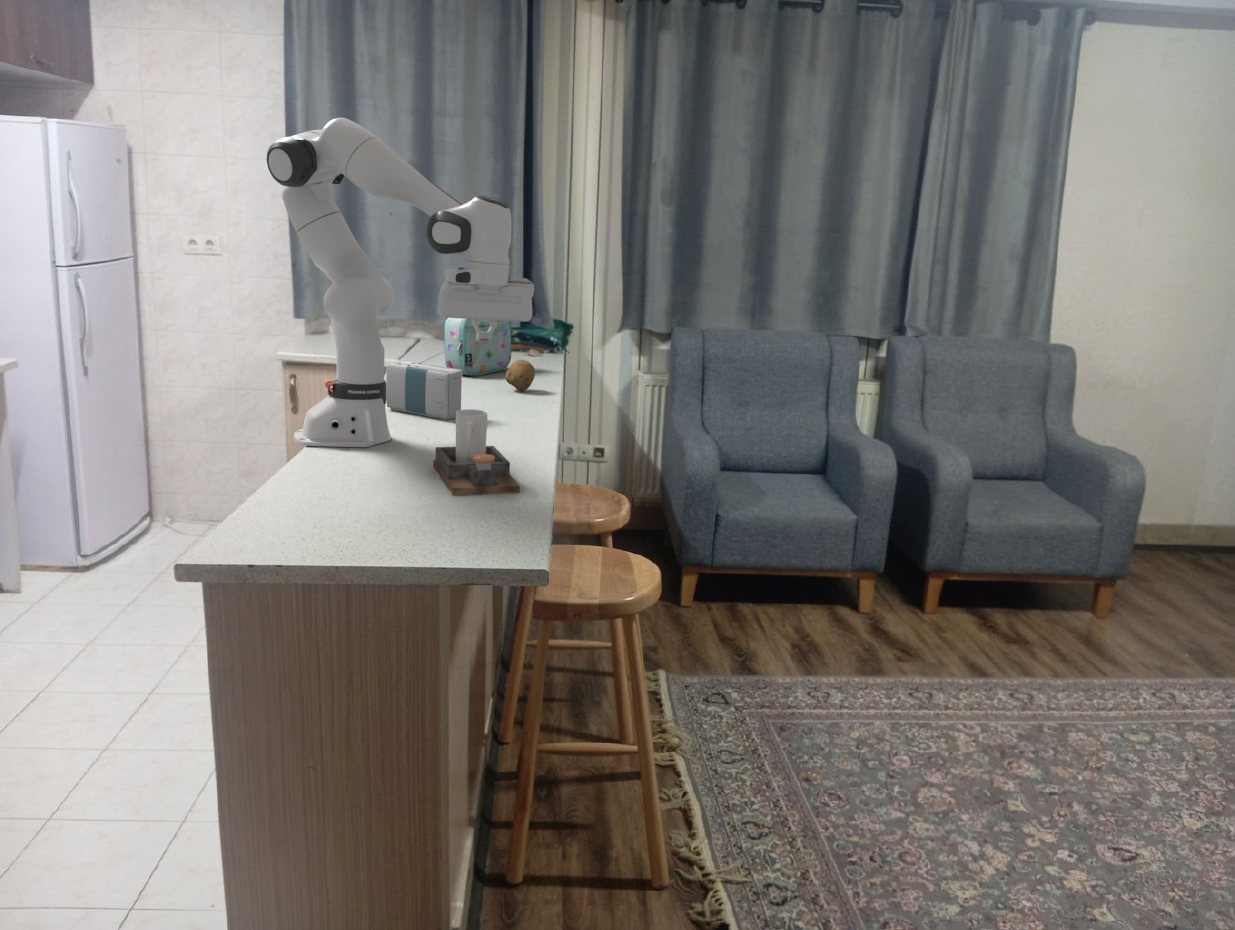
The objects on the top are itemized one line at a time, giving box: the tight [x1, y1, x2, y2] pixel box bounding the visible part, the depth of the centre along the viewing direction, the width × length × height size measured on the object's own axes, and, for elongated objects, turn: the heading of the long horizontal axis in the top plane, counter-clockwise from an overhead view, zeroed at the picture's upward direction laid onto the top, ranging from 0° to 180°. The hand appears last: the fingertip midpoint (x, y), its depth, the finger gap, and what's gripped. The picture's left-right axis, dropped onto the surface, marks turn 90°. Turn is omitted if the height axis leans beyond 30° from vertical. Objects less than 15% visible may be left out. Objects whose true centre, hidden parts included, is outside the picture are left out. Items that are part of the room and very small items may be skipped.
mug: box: [455, 408, 488, 463], centre depth 217 cm, size 10×7×12 cm, turn 3°
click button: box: [473, 454, 495, 470], centre depth 208 cm, size 4×4×5 cm
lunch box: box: [443, 318, 512, 377], centre depth 341 cm, size 27×10×21 cm, turn 148°
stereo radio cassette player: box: [385, 344, 464, 421], centre depth 273 cm, size 21×8×20 cm, turn 62°
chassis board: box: [432, 445, 521, 496], centre depth 216 cm, size 14×22×4 cm, turn 20°
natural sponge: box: [505, 359, 536, 392], centre depth 315 cm, size 9×9×10 cm
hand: (483, 340), depth 219 cm, fingers closed
